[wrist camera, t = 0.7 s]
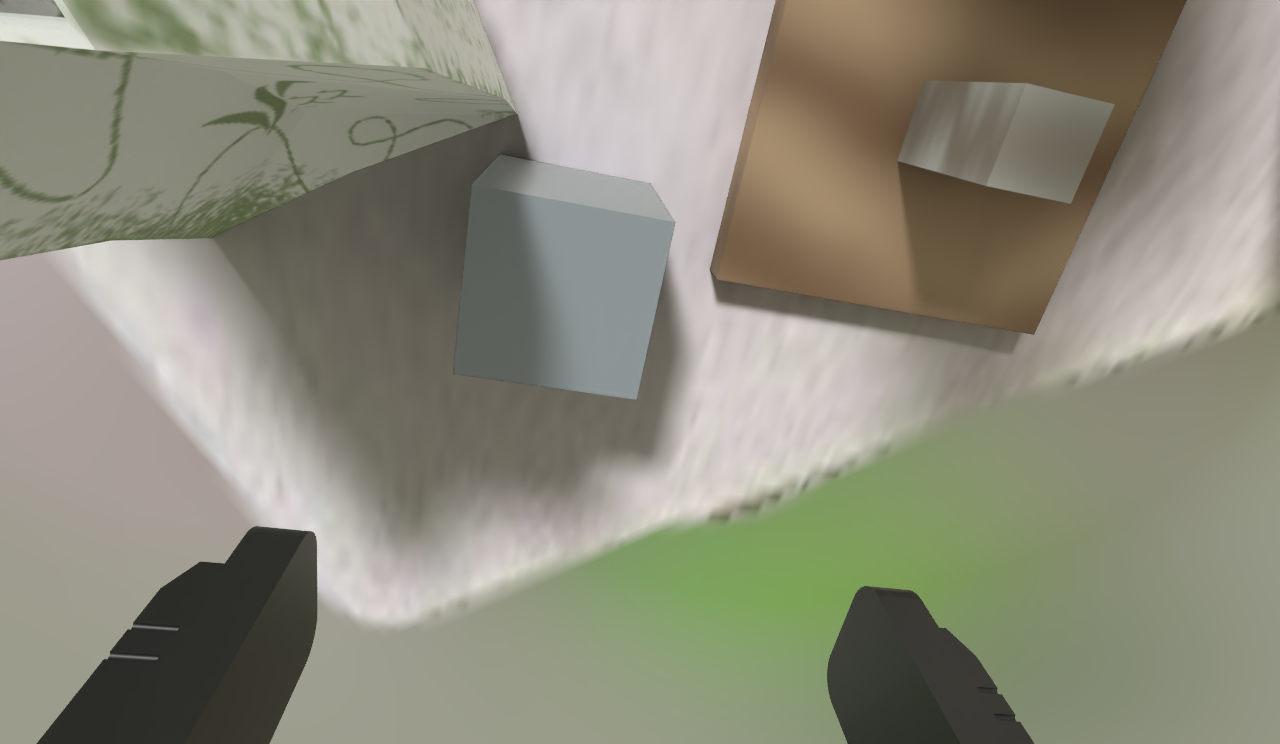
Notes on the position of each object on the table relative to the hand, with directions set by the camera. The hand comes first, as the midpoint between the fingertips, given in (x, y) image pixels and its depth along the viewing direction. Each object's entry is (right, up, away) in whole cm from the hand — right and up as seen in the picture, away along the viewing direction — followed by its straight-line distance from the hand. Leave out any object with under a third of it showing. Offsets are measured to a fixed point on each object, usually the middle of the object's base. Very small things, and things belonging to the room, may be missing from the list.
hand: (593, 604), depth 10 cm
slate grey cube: (-2, +9, +17) cm, 19 cm away
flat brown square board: (+12, +13, +16) cm, 24 cm away
